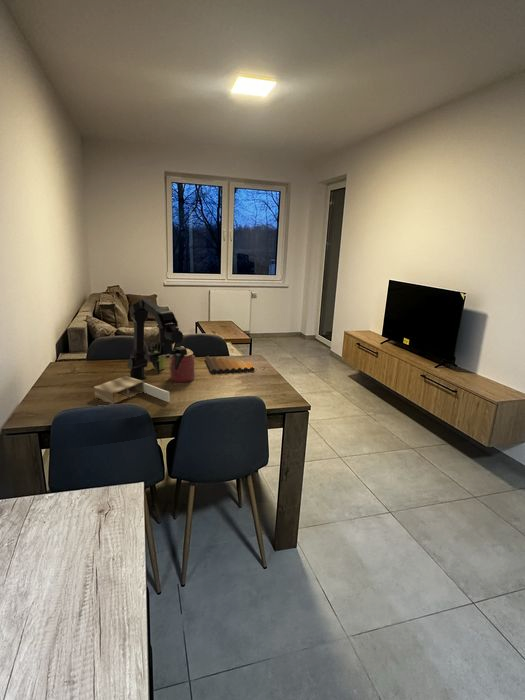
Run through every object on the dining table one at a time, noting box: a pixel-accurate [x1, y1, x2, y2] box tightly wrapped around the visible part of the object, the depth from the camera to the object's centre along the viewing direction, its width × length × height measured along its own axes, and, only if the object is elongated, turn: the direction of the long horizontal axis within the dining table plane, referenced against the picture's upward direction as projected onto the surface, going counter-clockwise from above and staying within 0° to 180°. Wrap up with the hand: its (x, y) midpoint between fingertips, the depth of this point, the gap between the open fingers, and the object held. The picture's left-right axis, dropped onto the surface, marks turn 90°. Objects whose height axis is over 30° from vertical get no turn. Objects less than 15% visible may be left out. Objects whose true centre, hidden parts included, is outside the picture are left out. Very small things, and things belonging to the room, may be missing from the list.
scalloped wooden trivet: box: [204, 355, 256, 375], centre depth 234 cm, size 25×3×25 cm
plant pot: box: [152, 351, 167, 371], centre depth 223 cm, size 9×9×9 cm
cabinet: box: [93, 375, 144, 403], centre depth 186 cm, size 18×12×6 cm, turn 149°
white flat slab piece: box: [143, 381, 171, 403], centre depth 185 cm, size 18×1×5 cm, turn 54°
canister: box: [169, 345, 196, 383], centre depth 208 cm, size 13×13×18 cm
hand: (166, 371), depth 183 cm, fingers open, 9 cm apart
